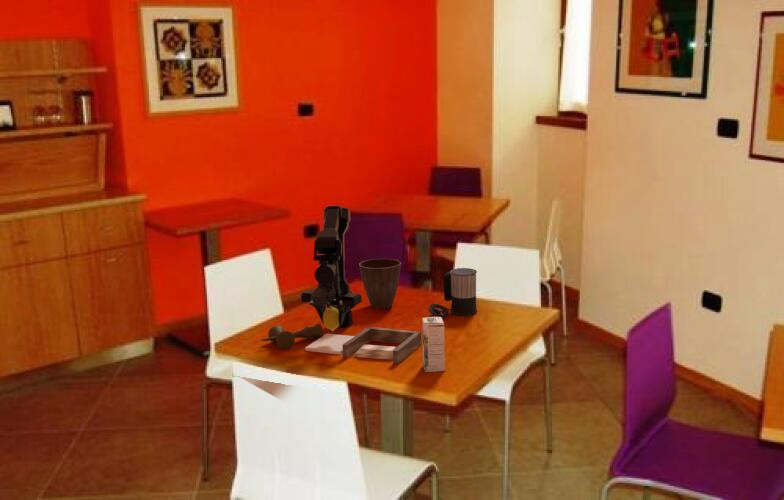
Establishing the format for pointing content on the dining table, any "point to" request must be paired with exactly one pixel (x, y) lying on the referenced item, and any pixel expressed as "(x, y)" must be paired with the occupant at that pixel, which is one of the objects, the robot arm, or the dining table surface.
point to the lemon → (331, 318)
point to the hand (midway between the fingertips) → (332, 324)
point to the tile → (329, 344)
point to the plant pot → (380, 281)
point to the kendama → (292, 335)
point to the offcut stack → (375, 352)
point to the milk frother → (458, 293)
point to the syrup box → (433, 344)
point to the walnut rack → (404, 338)
